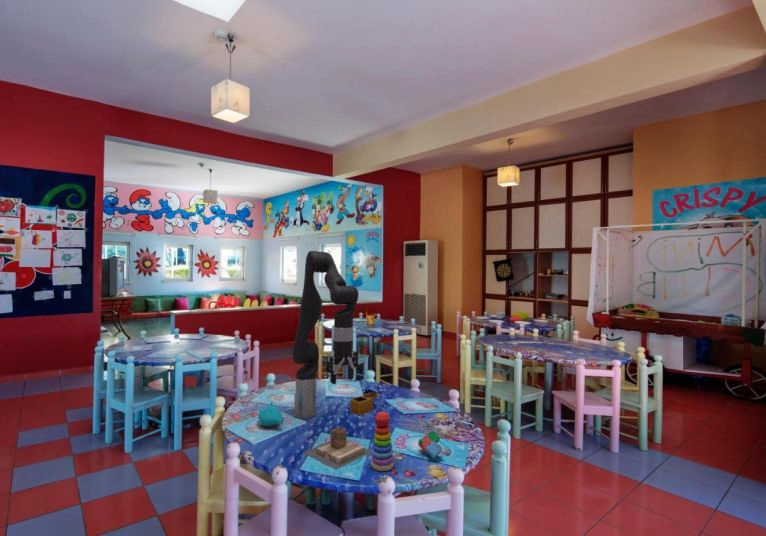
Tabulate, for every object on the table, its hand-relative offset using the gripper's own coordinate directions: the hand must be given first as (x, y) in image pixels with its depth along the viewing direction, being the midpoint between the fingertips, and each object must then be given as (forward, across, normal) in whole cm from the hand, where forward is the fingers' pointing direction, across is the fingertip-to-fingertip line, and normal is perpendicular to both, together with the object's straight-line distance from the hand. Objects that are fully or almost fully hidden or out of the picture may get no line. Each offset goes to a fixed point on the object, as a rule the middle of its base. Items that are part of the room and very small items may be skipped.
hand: (342, 381), depth 155 cm
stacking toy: (+24, +1, +22) cm, 33 cm away
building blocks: (+24, -20, +29) cm, 42 cm away
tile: (+23, +5, 0) cm, 24 cm away
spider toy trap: (+25, -34, -20) cm, 47 cm away
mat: (+24, +5, +4) cm, 25 cm away
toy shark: (+26, +8, -35) cm, 44 cm away
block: (+22, +5, +4) cm, 23 cm away
